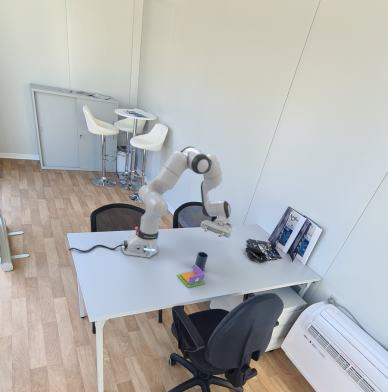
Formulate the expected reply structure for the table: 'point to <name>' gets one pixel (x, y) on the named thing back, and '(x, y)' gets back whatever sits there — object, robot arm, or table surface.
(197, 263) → the pen cup
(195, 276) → the dollhouse room
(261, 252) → the cable
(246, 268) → the table surface
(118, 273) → the table surface
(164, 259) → the table surface
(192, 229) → the table surface
